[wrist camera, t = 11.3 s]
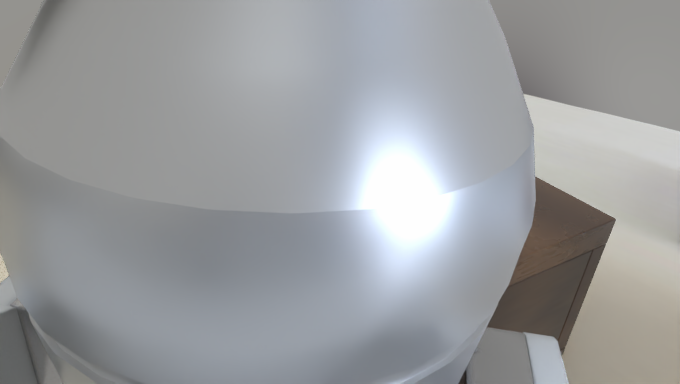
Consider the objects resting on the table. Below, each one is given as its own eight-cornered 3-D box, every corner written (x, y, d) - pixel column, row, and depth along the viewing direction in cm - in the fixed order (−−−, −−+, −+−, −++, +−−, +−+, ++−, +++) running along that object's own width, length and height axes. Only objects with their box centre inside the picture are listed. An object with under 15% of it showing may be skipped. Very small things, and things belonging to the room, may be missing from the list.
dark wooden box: (435, 261, 39) (461, 137, 34) (560, 362, 31) (616, 218, 26) (232, 335, 31) (229, 186, 26) (332, 496, 23) (354, 325, 18)
